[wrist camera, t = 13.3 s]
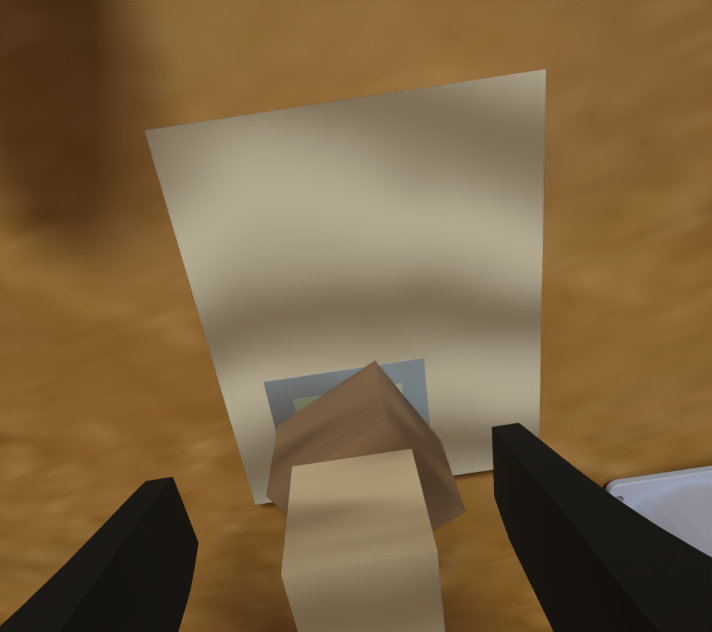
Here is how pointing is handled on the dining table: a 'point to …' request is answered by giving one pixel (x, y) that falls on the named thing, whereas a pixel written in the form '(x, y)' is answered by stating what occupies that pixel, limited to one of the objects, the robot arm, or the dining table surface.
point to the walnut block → (364, 439)
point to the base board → (369, 256)
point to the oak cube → (361, 547)
